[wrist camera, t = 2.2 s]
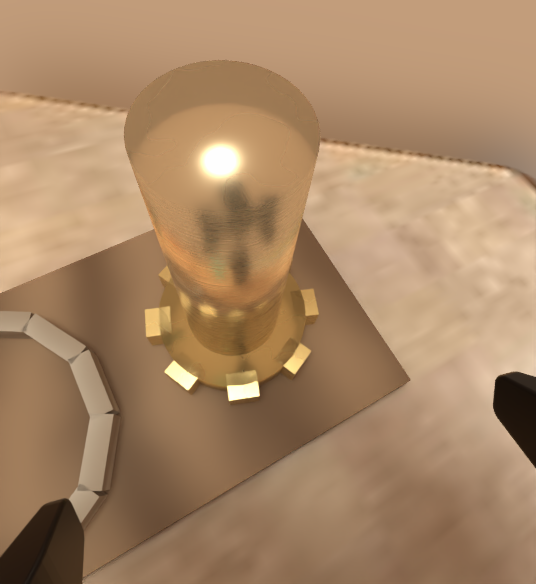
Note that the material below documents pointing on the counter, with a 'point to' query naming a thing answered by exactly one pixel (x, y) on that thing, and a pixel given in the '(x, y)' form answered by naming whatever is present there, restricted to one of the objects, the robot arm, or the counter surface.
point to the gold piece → (226, 220)
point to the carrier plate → (156, 398)
